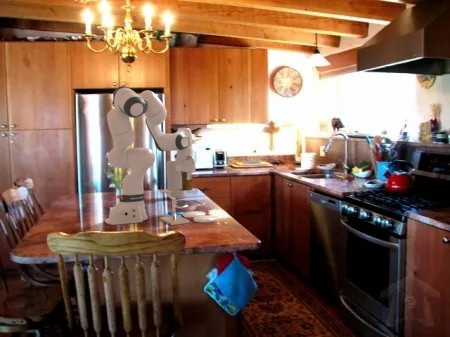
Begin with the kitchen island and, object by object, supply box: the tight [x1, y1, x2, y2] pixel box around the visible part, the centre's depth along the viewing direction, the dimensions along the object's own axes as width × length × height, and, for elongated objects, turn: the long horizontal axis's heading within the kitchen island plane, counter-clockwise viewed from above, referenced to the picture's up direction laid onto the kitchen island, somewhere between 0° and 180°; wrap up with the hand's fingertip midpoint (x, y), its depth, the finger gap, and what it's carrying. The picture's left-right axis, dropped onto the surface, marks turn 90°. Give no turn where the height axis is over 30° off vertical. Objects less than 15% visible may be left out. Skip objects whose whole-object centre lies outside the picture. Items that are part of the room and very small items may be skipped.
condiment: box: [177, 172, 194, 192], centre depth 268 cm, size 7×8×12 cm
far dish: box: [181, 210, 207, 219], centre depth 258 cm, size 13×13×1 cm
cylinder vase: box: [166, 160, 187, 200], centre depth 319 cm, size 12×12×25 cm
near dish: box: [193, 215, 219, 224], centre depth 245 cm, size 13×13×1 cm
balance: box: [159, 189, 190, 226], centre depth 243 cm, size 10×26×15 cm, turn 30°
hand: (185, 179), depth 268 cm, fingers closed on condiment, 6 cm apart
